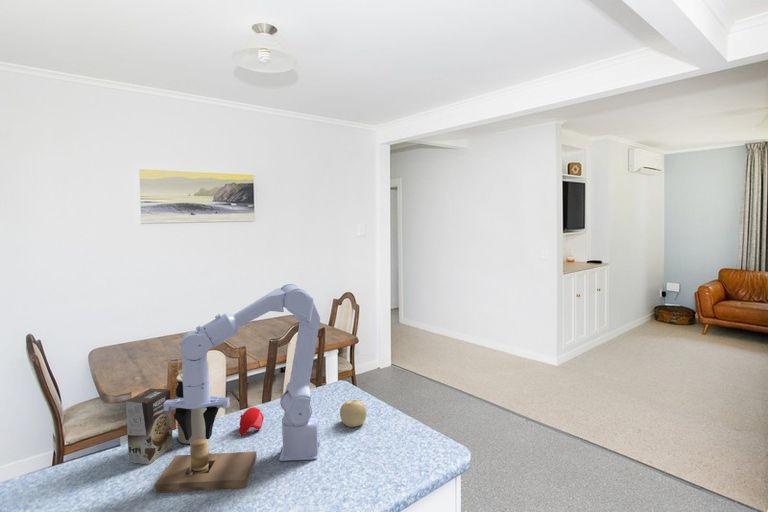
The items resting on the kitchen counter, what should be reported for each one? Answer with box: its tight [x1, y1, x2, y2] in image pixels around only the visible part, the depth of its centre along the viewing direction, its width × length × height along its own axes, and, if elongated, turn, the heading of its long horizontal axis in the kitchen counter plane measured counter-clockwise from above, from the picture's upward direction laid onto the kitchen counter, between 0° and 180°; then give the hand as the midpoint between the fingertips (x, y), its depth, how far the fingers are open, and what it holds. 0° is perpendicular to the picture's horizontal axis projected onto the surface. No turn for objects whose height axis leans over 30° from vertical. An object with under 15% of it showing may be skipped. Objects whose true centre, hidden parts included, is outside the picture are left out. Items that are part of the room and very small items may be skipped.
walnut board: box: [154, 451, 258, 494], centre depth 105 cm, size 20×12×2 cm, turn 95°
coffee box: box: [125, 387, 174, 465], centre depth 114 cm, size 9×6×16 cm
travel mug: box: [175, 373, 207, 445], centre depth 122 cm, size 8×8×18 cm
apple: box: [339, 399, 368, 428], centre depth 130 cm, size 8×8×8 cm
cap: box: [238, 407, 264, 436], centre depth 127 cm, size 8×6×6 cm
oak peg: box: [189, 438, 210, 474], centre depth 105 cm, size 4×4×8 cm
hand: (198, 437), depth 104 cm, fingers open, 4 cm apart
